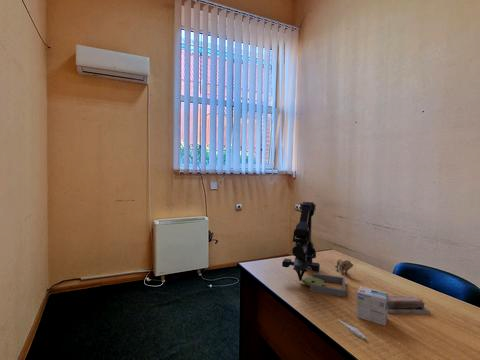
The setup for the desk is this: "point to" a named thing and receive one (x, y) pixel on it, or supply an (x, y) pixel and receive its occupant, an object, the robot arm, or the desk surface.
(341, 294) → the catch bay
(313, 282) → the green speckled disc
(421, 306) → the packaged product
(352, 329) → the stylus pen
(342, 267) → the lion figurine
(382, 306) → the light bulb box
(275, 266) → the desk surface
